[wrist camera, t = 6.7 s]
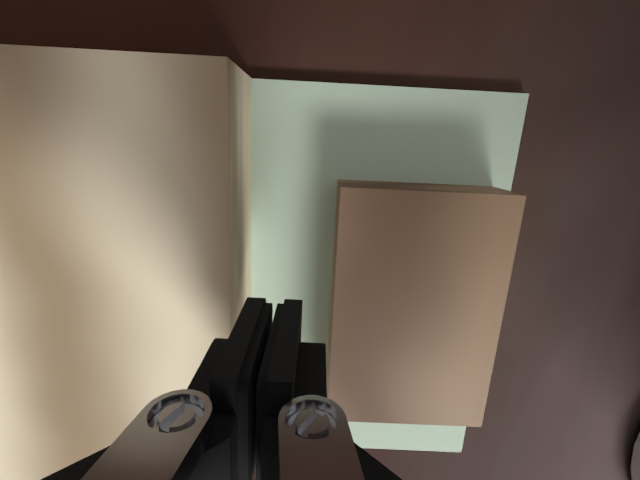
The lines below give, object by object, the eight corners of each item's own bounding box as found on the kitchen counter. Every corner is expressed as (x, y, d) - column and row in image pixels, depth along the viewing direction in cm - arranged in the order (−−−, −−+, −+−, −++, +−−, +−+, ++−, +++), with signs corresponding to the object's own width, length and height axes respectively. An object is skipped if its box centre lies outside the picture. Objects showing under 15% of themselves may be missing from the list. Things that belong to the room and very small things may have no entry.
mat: (523, 94, 14) (529, 93, 13) (458, 445, 18) (461, 452, 18) (240, 79, 14) (238, 77, 13) (242, 436, 18) (240, 442, 17)
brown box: (340, 187, 12) (337, 179, 14) (326, 420, 14) (325, 380, 16) (526, 195, 12) (492, 186, 14) (481, 426, 14) (458, 386, 17)
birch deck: (254, 80, 14) (226, 56, 10) (252, 436, 18) (233, 519, 14) (-48, 63, 13) (-197, 33, 10) (24, 426, 18) (-60, 506, 14)
